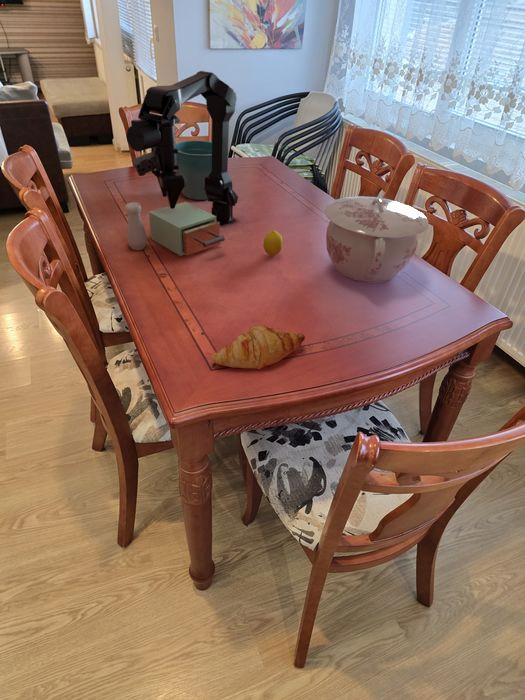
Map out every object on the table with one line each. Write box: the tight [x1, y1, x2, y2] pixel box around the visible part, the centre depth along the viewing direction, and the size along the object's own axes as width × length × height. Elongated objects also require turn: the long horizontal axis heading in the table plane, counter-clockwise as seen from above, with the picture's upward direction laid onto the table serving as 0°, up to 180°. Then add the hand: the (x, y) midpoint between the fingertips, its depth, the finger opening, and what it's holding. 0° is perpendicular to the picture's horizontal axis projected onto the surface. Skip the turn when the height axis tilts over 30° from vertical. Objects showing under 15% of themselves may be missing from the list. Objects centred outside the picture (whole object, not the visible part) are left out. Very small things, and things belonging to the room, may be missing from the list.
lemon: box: [263, 229, 284, 257], centre depth 135 cm, size 6×6×8 cm
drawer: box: [181, 220, 226, 256], centre depth 137 cm, size 19×12×7 cm, turn 45°
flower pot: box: [175, 139, 212, 201], centre depth 169 cm, size 18×18×17 cm
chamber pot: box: [323, 195, 429, 284], centre depth 127 cm, size 28×28×21 cm
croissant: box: [211, 325, 306, 370], centre depth 98 cm, size 21×10×8 cm, turn 115°
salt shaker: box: [125, 201, 148, 251], centre depth 133 cm, size 6×6×13 cm
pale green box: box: [148, 201, 216, 257], centre depth 139 cm, size 15×14×9 cm
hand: (168, 202), depth 130 cm, fingers open, 9 cm apart
